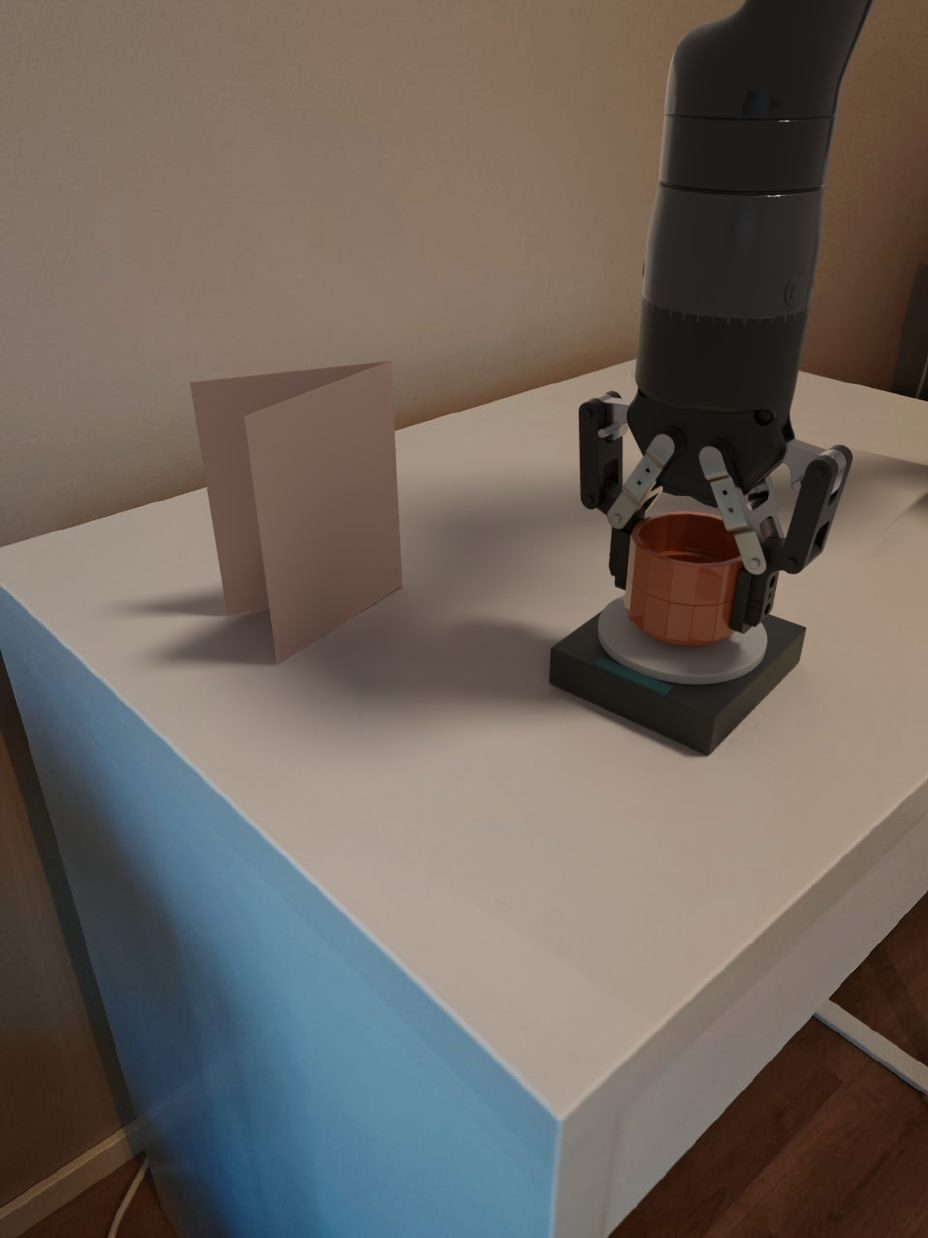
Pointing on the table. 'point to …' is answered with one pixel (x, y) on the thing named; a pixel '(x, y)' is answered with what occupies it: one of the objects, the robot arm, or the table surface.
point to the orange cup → (682, 577)
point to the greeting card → (302, 494)
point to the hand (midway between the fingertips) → (684, 603)
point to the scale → (675, 674)
